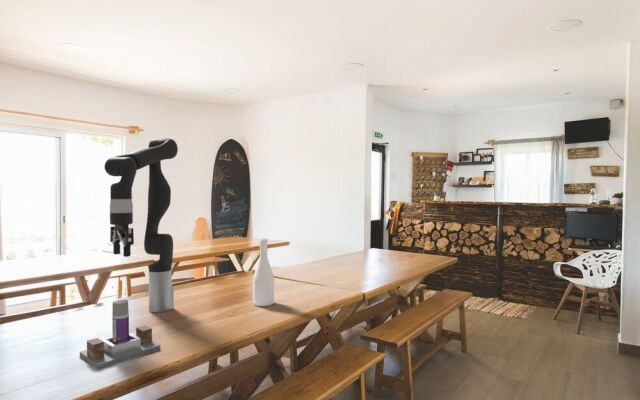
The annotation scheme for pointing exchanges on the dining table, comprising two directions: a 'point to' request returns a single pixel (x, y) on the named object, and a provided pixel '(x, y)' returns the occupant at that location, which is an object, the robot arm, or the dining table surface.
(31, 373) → the dining table surface
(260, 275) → the wine bottle
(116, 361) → the base board
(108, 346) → the socket
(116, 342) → the container
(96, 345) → the walnut blocks
